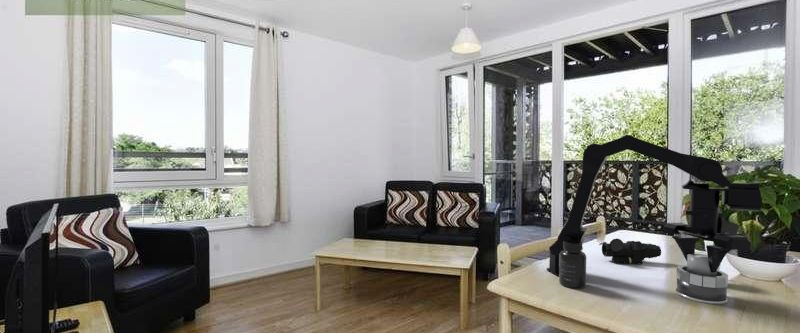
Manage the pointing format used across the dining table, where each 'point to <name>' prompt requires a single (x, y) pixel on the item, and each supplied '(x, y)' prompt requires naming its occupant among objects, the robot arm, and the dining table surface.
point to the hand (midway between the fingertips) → (701, 268)
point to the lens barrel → (702, 286)
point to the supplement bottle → (572, 265)
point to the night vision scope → (629, 251)
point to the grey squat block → (699, 265)
